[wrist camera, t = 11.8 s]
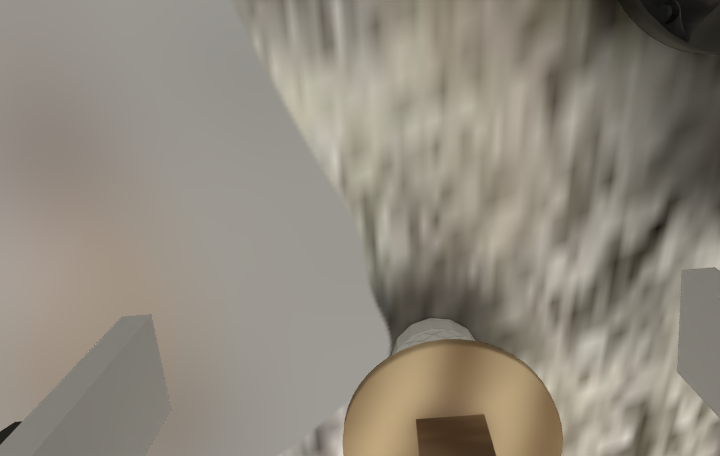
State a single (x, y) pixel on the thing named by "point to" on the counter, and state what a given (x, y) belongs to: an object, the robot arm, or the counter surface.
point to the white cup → (431, 333)
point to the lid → (452, 405)
